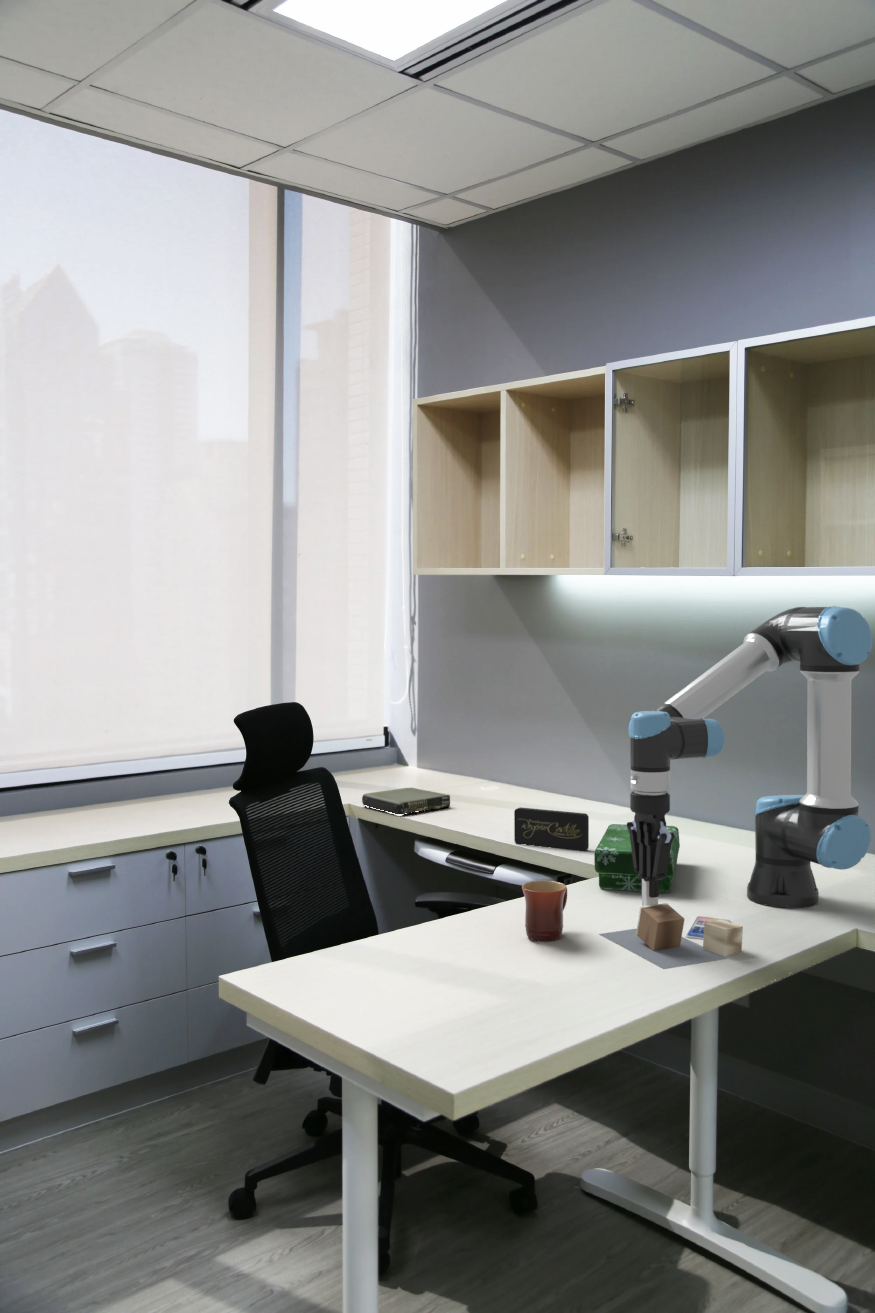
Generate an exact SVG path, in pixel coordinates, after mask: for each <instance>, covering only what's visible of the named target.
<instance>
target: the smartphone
mask: <svg viewBox="0 0 875 1313" xmlns="http://www.w3.org/2000/svg"><path fill="white" fill-rule="evenodd" d="M717 920H724V921H727V922H730V923H732V921H731V920H730V919H724V918H717V917H710V916H701V915H698V916H696V917H695V919H694V920H693V922H692V923H691V925H690V927H689V929H688V930H687V931H686V934H685V935H684V938H686V939H690V940H691V939H692V940H693V939H694V940H698V941H699V940H700V941H703V939H704V923H707V922H712V921H717Z"/></svg>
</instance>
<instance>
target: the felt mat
mask: <svg viewBox="0 0 875 1313" xmlns="http://www.w3.org/2000/svg"><path fill="white" fill-rule="evenodd" d="M636 931H637V928H631V929H624V930H618V931H616V930H615V931H610V932H604V933H598V935H599V936H601V937H603V938H605V939H607V940H608V941H610V942H612V943H614V944H616V945H618V946H619V947H622V948H623V949H624V950H625V949H626V950H627V951H628V952H631V953H632V954H635V955H637V957H641V958H642V959H643V960H646V961H648V962H649V963H652V964H653V965H655V966H656V967H658V968H660V969H663V970H667V969H673V968H678V967H684V966H691V965H697V964H703V963H709V962H713V961H714V962H715V961H721V960H727V959H728V958H727V956H725V957H724V956H721V955H718V954H715V953H712V952H709V951H706V950H703V946H702V945H700V944H698V943H696V942H694V941H691V939H689V938H686V937H685V936H684V937H683V936H682V937H681V943H680V947H675V948H669V949H662V950H656V951H653V950H652V949H651V948H650V947H649V946H648V945H647V944H646V943H644V942H643V941H642V940H641V939H640V938H639V937H638V936H637V935H636Z"/></svg>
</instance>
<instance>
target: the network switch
mask: <svg viewBox="0 0 875 1313" xmlns="http://www.w3.org/2000/svg"><path fill="white" fill-rule="evenodd" d="M361 802H362V805H363V806H364V805H367V806H369V807H373V808H376V809H380V810H384V811H388V812H392V813H395V814H405V813H409V812H414V813H415V811H422V810H427V811H428V810H429V811H431V810H430V809H434V810H437V809H444V807H449V808H450V806H451V795H450V794H446V793H440V792H435V791H430V790H425V789H422V788H421V789H419V788H416V787H403V788H397V789H396V788H395V789H388V790H387V789H386V790H381V791H373V792H367V793H364V794H363V795H362V797H361ZM422 812H423V811H422ZM409 814H410V813H409Z"/></svg>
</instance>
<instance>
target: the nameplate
mask: <svg viewBox="0 0 875 1313" xmlns="http://www.w3.org/2000/svg"><path fill="white" fill-rule="evenodd" d="M513 812H514V822H513V824H514V825H513V826H514V827H513V828H514V832H513V833H514V836H513V837H514V843H515V844H516V845H521V844H526V845H525V846H530V845H534V847H539V846H541V847H540V848H548V847H551V848H550V849H557V848H558V849H557V850H559V849H560V850H567V851H576V852H577V851H578V852H585V851H587V850H588V849H589V846H590V842H589V838H590V837H589V834H590V833H589V829H590V827H589V825H590V824H589V820H590V819H589V814H587V813H585V812H583V813H582V812H575V811H574V812H573V811H562V810H554V809H551V810H550V809H540V808H531V807H517V808H515V809H514V811H513Z"/></svg>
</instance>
